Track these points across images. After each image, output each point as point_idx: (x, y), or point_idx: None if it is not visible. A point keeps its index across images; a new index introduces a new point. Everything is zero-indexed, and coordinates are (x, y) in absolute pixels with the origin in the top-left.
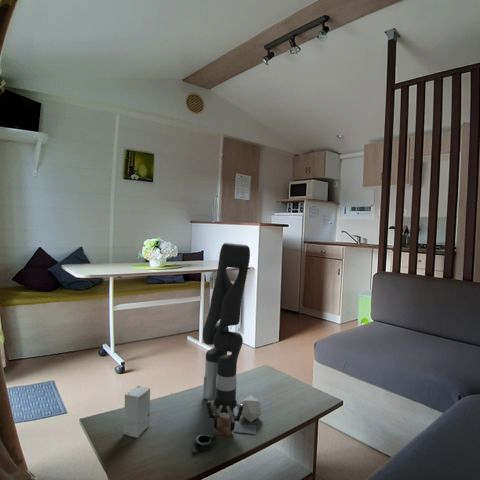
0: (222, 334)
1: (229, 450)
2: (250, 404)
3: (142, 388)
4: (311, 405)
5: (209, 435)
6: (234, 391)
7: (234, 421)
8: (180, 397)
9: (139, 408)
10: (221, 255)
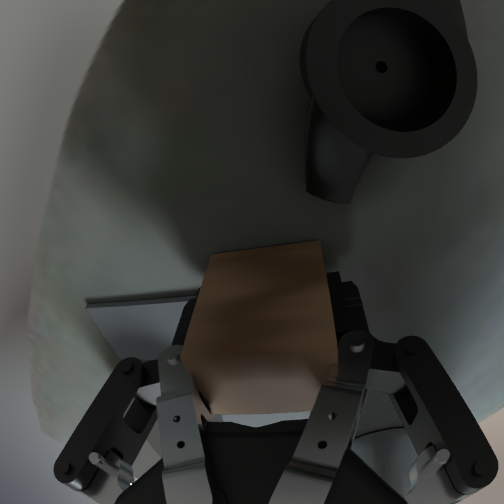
0: None
1: (144, 96)
2: (148, 463)
3: None
4: (66, 430)
5: (367, 145)
6: None
7: (160, 354)
8: (501, 399)
9: None
10: None
